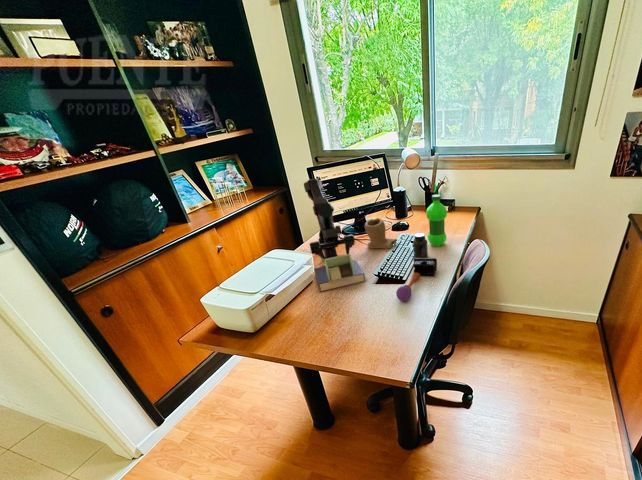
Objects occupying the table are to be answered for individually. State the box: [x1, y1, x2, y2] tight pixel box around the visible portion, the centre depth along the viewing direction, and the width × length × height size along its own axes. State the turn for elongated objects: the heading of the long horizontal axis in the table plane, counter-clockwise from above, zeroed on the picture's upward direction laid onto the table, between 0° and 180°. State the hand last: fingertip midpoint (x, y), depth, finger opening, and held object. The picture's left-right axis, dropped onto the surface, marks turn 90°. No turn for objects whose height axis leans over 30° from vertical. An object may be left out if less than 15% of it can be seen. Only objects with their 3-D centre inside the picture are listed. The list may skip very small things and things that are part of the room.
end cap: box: [412, 257, 438, 278], centre depth 145 cm, size 10×7×7 cm
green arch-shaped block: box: [323, 253, 354, 284], centre depth 136 cm, size 6×11×10 cm
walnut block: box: [339, 264, 352, 278], centre depth 139 cm, size 4×4×4 cm
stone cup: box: [364, 217, 398, 249], centre depth 170 cm, size 15×12×15 cm
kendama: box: [395, 272, 421, 302], centre depth 133 cm, size 6×6×20 cm
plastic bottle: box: [425, 194, 448, 247], centre depth 164 cm, size 10×10×25 cm
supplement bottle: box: [412, 232, 429, 259], centre depth 156 cm, size 7×7×12 cm
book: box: [313, 259, 366, 293], centre depth 147 cm, size 16×20×4 cm
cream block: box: [329, 267, 341, 280], centre depth 137 cm, size 4×4×4 cm
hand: (337, 262), depth 137 cm, fingers open, 9 cm apart
